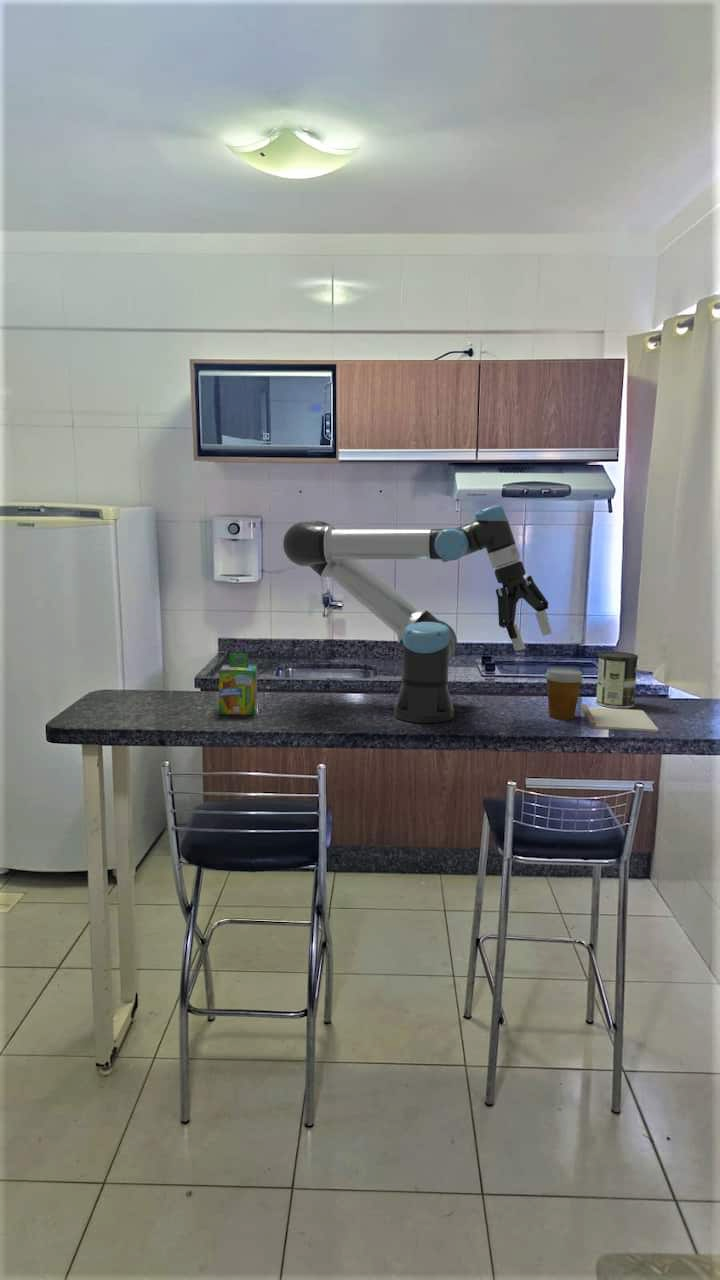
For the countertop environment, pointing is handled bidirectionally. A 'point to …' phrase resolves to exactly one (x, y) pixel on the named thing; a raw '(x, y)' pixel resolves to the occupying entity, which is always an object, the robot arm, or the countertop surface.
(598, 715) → the cream flat rectangular board
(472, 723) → the countertop surface
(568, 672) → the disposable coffee cup
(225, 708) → the chalk box
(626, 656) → the coffee can
